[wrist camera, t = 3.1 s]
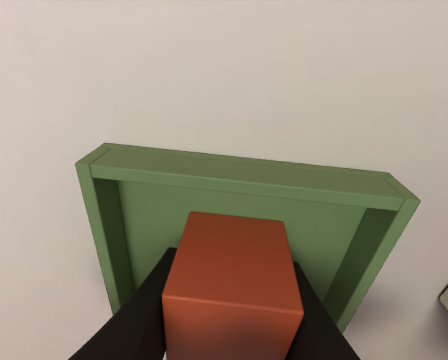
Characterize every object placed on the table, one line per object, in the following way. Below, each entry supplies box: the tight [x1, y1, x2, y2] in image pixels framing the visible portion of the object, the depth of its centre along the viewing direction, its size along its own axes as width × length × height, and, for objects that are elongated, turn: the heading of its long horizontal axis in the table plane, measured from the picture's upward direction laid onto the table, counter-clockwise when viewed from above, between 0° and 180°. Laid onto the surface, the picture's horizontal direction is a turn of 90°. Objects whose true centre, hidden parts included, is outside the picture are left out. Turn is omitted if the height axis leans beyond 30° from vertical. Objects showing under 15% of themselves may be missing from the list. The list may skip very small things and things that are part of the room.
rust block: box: [162, 211, 304, 360], centre depth 9 cm, size 4×4×4 cm
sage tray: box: [75, 143, 420, 333], centre depth 10 cm, size 11×9×2 cm
